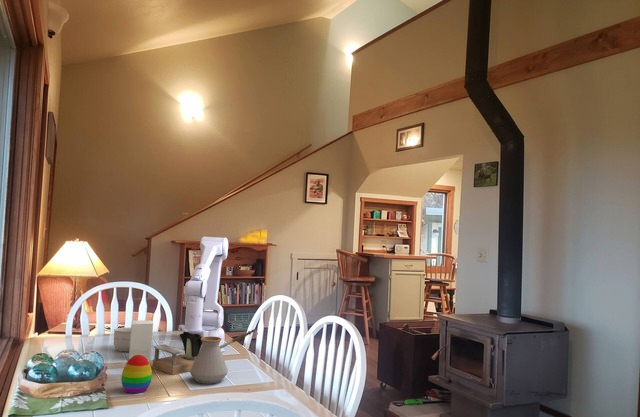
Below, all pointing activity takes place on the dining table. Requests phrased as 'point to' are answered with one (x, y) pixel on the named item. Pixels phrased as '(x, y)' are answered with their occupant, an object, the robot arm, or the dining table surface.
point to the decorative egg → (136, 374)
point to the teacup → (122, 338)
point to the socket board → (172, 360)
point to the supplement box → (141, 338)
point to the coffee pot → (212, 360)
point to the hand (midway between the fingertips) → (191, 355)
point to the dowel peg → (189, 351)
